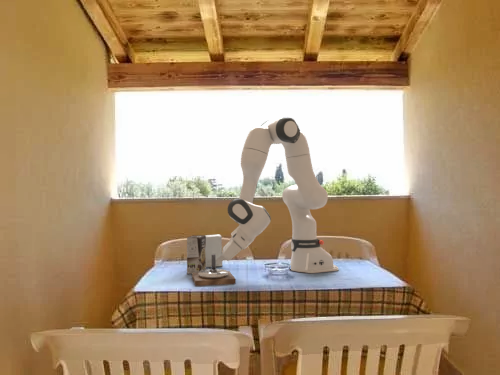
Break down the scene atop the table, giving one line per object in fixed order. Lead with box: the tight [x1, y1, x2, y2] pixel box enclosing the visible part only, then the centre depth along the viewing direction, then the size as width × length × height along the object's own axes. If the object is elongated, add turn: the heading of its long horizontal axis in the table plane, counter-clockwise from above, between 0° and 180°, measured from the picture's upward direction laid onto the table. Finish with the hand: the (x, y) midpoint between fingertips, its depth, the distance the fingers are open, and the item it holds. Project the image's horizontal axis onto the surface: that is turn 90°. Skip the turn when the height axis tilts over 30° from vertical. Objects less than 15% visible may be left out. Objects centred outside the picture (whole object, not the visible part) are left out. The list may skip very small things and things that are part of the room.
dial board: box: [191, 270, 237, 287], centre depth 186 cm, size 16×15×2 cm
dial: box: [199, 254, 229, 279], centre depth 185 cm, size 12×12×8 cm
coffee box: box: [186, 234, 207, 275], centre depth 202 cm, size 9×6×16 cm
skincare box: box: [203, 233, 223, 268], centre depth 216 cm, size 8×6×15 cm
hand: (217, 262), depth 189 cm, fingers closed
